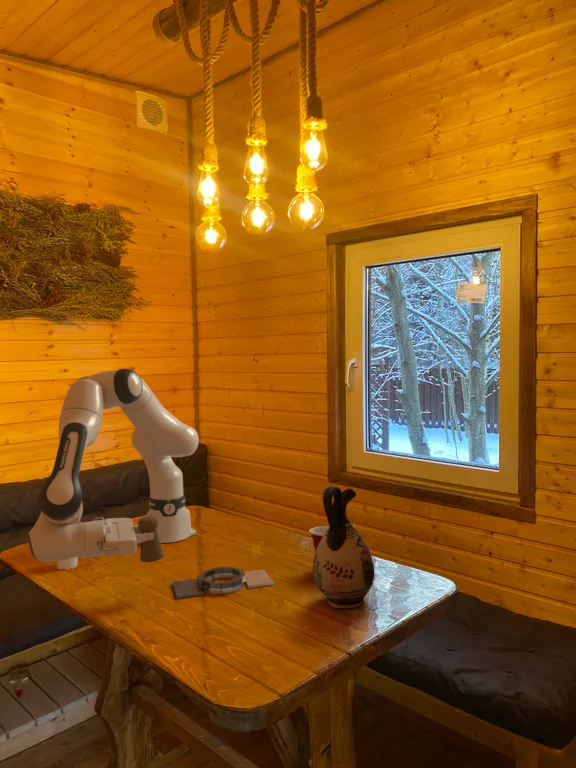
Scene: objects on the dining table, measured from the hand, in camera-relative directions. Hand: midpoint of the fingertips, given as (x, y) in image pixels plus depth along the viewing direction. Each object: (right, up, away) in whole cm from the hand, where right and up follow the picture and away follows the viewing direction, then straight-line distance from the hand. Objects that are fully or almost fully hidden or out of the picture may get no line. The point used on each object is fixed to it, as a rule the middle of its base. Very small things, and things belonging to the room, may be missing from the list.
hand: (152, 532), depth 162 cm
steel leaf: (+21, -16, +8) cm, 27 cm away
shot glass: (-31, -16, +24) cm, 42 cm away
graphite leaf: (+14, -16, +5) cm, 22 cm away
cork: (0, -7, 0) cm, 7 cm away
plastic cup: (+47, -15, +16) cm, 52 cm away
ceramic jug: (+49, -16, -7) cm, 52 cm away
